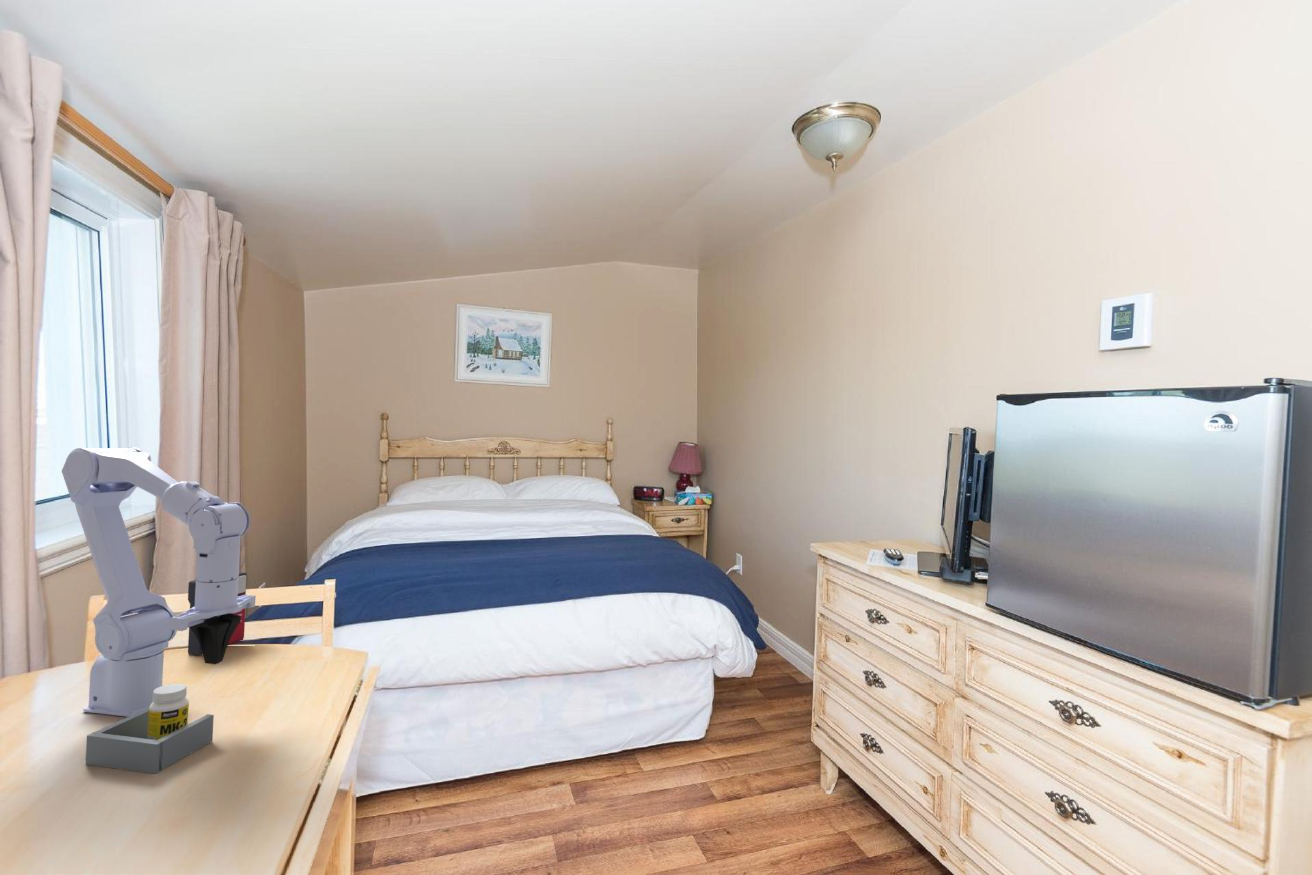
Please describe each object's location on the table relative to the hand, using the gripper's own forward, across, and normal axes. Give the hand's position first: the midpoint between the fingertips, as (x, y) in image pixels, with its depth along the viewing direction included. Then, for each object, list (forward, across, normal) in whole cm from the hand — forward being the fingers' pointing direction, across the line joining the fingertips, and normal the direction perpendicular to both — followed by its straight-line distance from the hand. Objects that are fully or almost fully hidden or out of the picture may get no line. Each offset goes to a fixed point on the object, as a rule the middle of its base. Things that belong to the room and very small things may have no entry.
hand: (213, 662), depth 104 cm
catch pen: (+9, -10, 0) cm, 14 cm away
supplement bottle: (+10, -8, 0) cm, 13 cm away
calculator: (+10, +29, +26) cm, 40 cm away
